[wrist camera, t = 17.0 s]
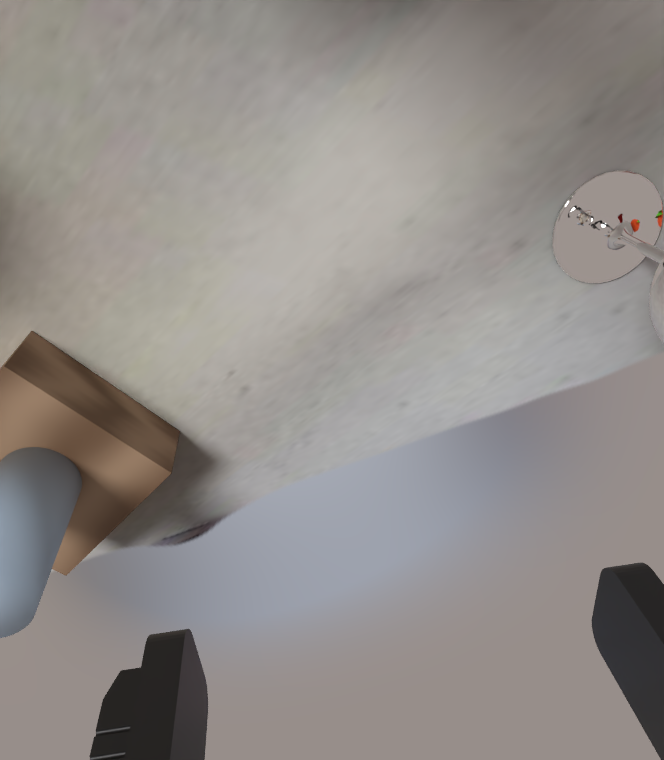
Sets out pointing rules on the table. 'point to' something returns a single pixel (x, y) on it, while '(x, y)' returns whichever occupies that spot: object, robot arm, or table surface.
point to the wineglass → (612, 233)
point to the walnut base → (84, 439)
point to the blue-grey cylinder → (31, 527)
